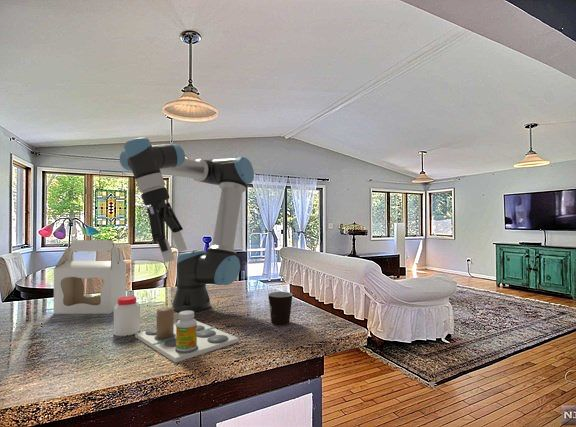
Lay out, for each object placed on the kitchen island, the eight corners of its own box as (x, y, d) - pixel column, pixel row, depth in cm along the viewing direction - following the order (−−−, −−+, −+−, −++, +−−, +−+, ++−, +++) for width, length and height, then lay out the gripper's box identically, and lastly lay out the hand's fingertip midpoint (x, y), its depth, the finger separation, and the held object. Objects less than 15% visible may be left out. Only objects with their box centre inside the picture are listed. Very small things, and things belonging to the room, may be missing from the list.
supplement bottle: (175, 352, 88) (175, 316, 88) (176, 345, 93) (176, 310, 93) (196, 350, 89) (196, 314, 89) (196, 343, 95) (196, 309, 95)
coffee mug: (290, 327, 113) (290, 297, 113) (265, 325, 115) (265, 296, 115) (296, 317, 124) (296, 290, 125) (273, 315, 126) (273, 289, 126)
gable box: (126, 304, 142) (127, 239, 142) (111, 313, 129) (112, 241, 129) (73, 305, 141) (74, 239, 142) (52, 314, 128) (53, 241, 128)
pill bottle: (113, 337, 103) (113, 302, 103) (113, 330, 110) (113, 296, 110) (140, 333, 107) (140, 299, 107) (139, 326, 114) (139, 294, 114)
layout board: (135, 337, 104) (135, 306, 104) (193, 322, 118) (193, 295, 118) (175, 362, 85) (175, 325, 86) (238, 342, 100) (238, 310, 100)
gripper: (155, 192, 113) (176, 250, 115) (122, 196, 88) (150, 270, 91) (177, 185, 113) (197, 244, 115) (149, 187, 88) (176, 262, 91)
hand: (176, 255), depth 103 cm, fingers open, 13 cm apart
